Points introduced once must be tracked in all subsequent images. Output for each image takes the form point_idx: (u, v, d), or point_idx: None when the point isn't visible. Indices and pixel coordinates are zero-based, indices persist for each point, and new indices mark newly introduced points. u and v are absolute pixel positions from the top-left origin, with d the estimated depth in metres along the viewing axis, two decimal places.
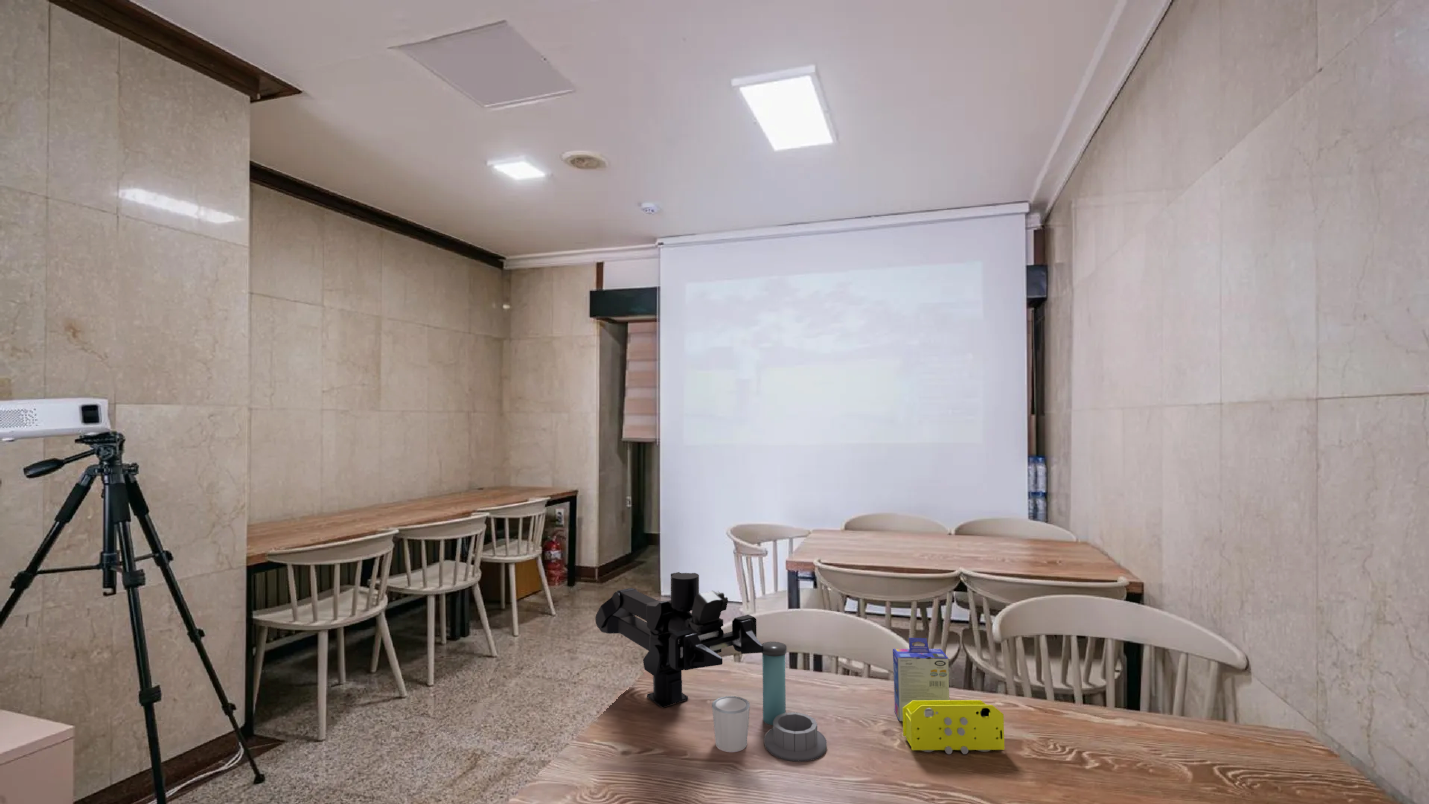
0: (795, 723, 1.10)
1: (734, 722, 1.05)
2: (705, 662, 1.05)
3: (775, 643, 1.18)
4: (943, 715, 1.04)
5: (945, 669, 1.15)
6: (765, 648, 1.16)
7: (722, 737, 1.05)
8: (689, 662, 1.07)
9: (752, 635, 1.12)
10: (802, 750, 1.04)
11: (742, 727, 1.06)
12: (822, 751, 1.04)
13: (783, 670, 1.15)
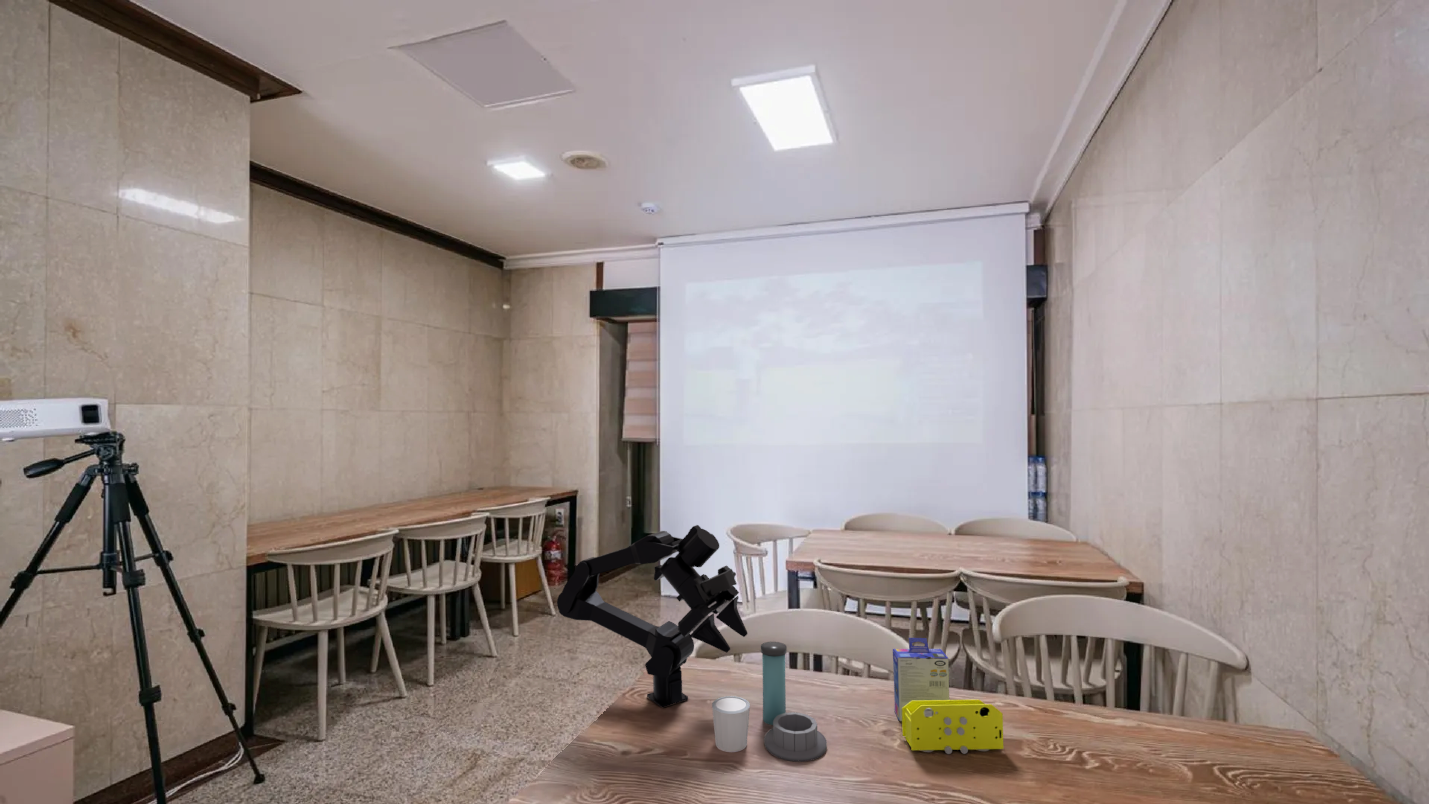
0: (795, 723, 1.10)
1: (734, 722, 1.05)
2: (712, 642, 1.16)
3: (775, 643, 1.18)
4: (943, 715, 1.04)
5: (945, 669, 1.15)
6: (765, 648, 1.16)
7: (722, 737, 1.05)
8: (696, 633, 1.16)
9: (738, 615, 1.25)
10: (802, 750, 1.04)
11: (742, 726, 1.06)
12: (822, 751, 1.04)
13: (783, 670, 1.15)
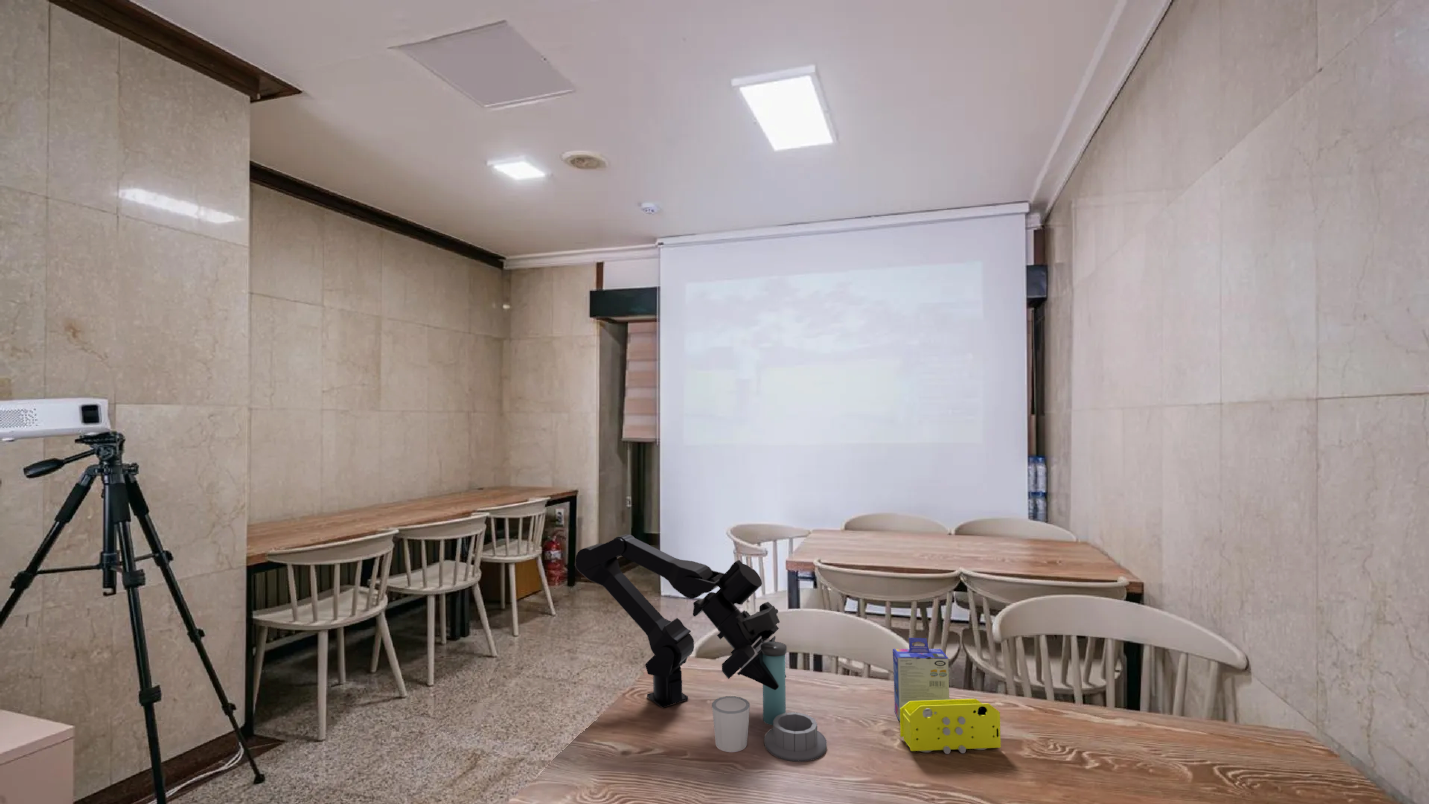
0: (795, 723, 1.10)
1: (734, 722, 1.05)
2: (760, 679, 1.14)
3: (775, 643, 1.18)
4: (941, 715, 1.04)
5: (945, 669, 1.15)
6: (765, 648, 1.16)
7: (722, 737, 1.05)
8: (744, 670, 1.14)
9: None
10: (802, 750, 1.04)
11: (742, 727, 1.06)
12: (822, 751, 1.04)
13: (783, 670, 1.15)
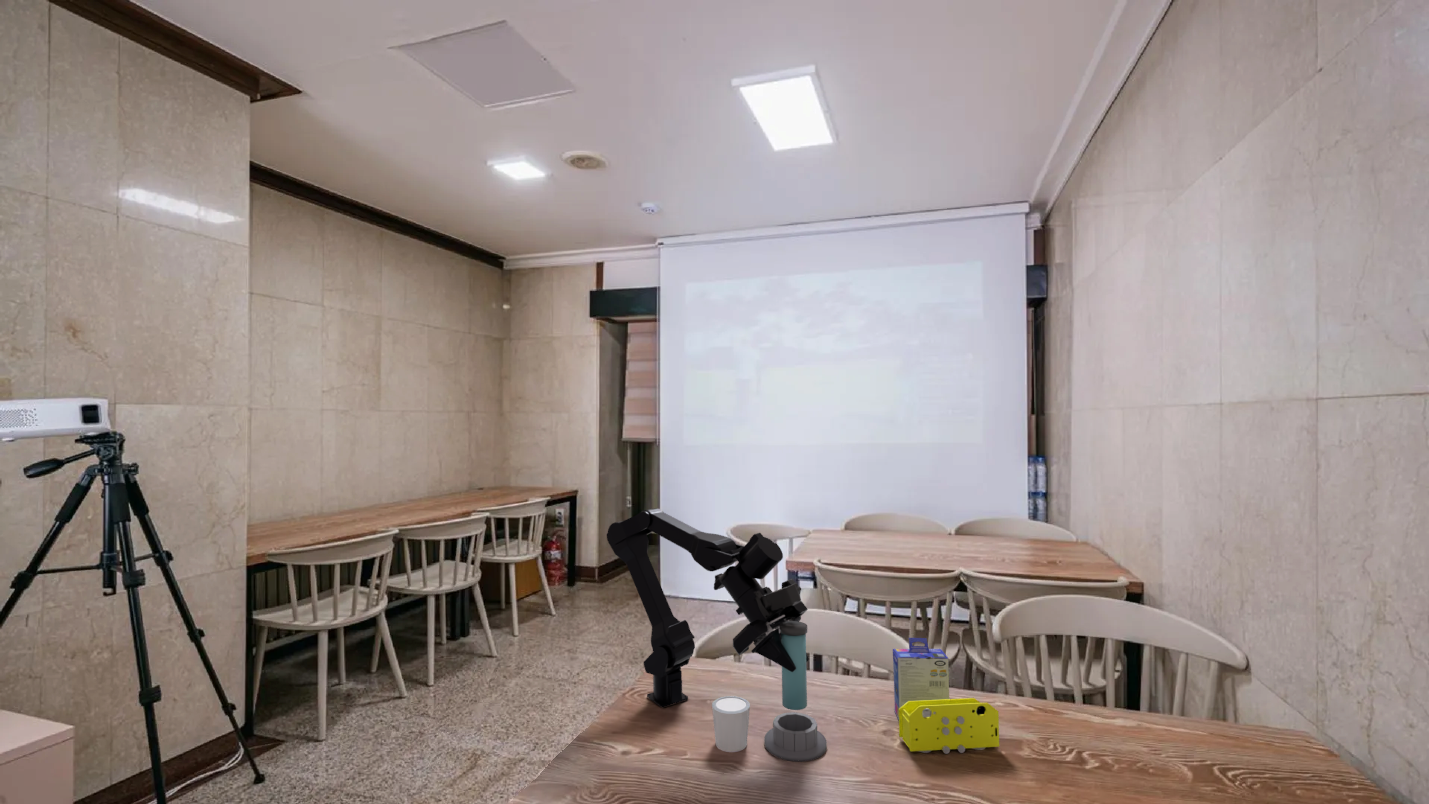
0: (795, 723, 1.10)
1: (734, 722, 1.05)
2: (776, 659, 1.07)
3: (796, 623, 1.10)
4: (941, 715, 1.04)
5: (945, 669, 1.15)
6: (783, 626, 1.08)
7: (722, 737, 1.05)
8: (759, 648, 1.07)
9: None
10: (802, 750, 1.04)
11: (743, 727, 1.06)
12: (822, 751, 1.04)
13: (802, 651, 1.07)
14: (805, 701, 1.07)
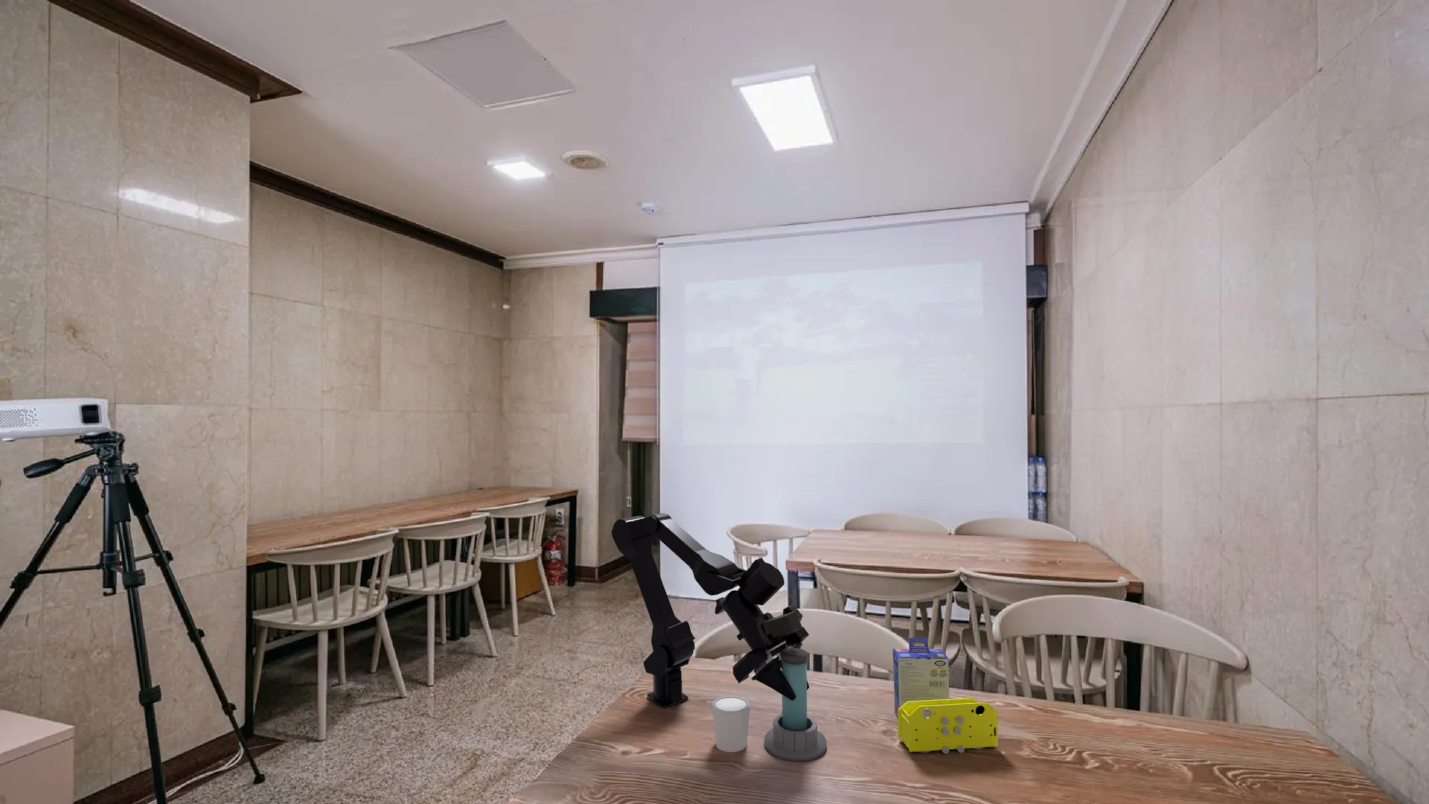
0: None
1: (734, 722, 1.05)
2: (776, 687, 1.06)
3: (797, 650, 1.09)
4: (940, 715, 1.04)
5: (945, 669, 1.15)
6: (783, 654, 1.07)
7: (722, 737, 1.05)
8: (759, 676, 1.07)
9: None
10: (802, 750, 1.04)
11: (743, 726, 1.06)
12: (822, 751, 1.04)
13: (803, 680, 1.06)
14: None
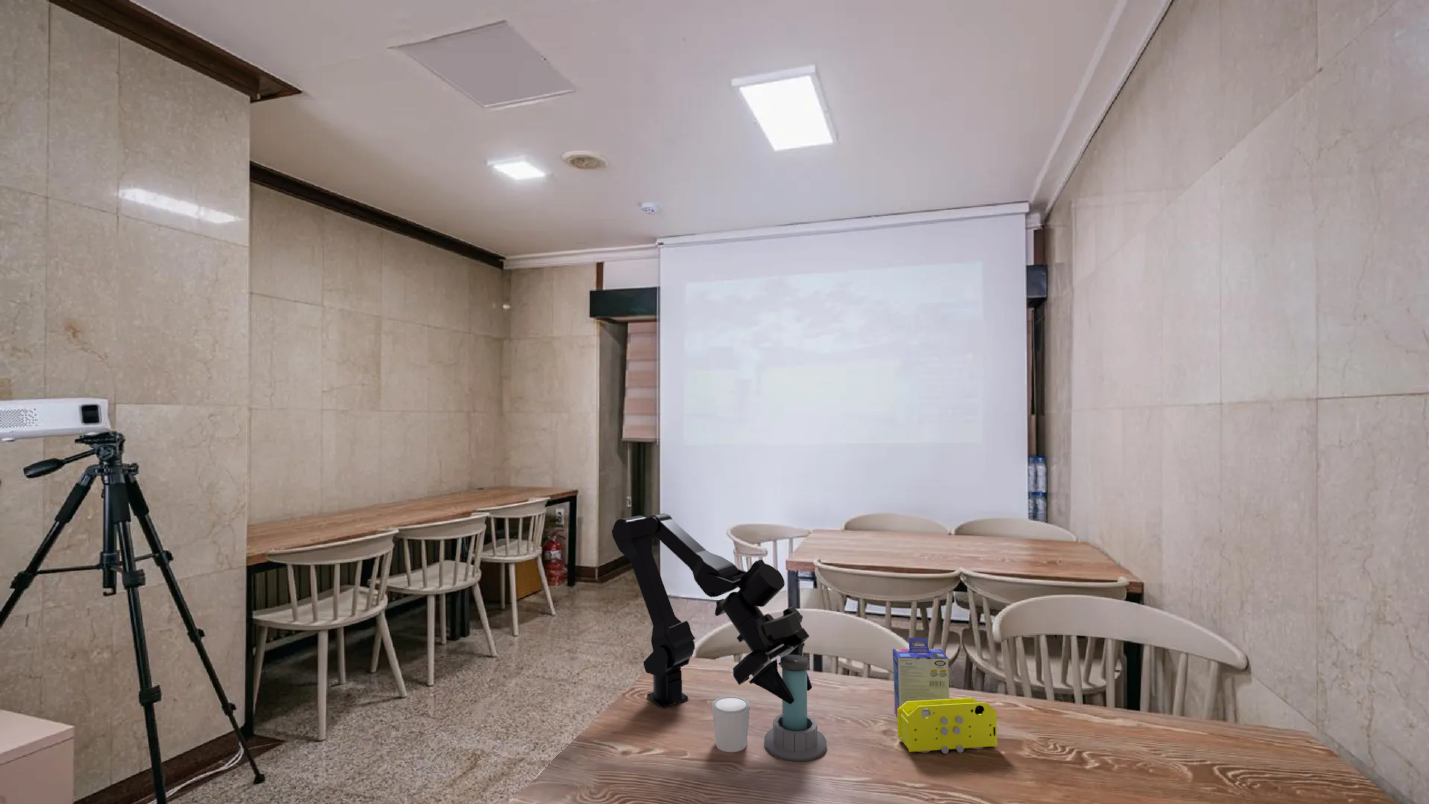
0: None
1: (734, 722, 1.05)
2: (774, 690, 1.05)
3: (798, 657, 1.09)
4: (939, 715, 1.04)
5: (945, 669, 1.15)
6: (784, 661, 1.07)
7: (722, 737, 1.05)
8: (757, 679, 1.06)
9: None
10: (802, 750, 1.04)
11: (742, 726, 1.06)
12: (822, 751, 1.04)
13: (803, 687, 1.06)
14: None
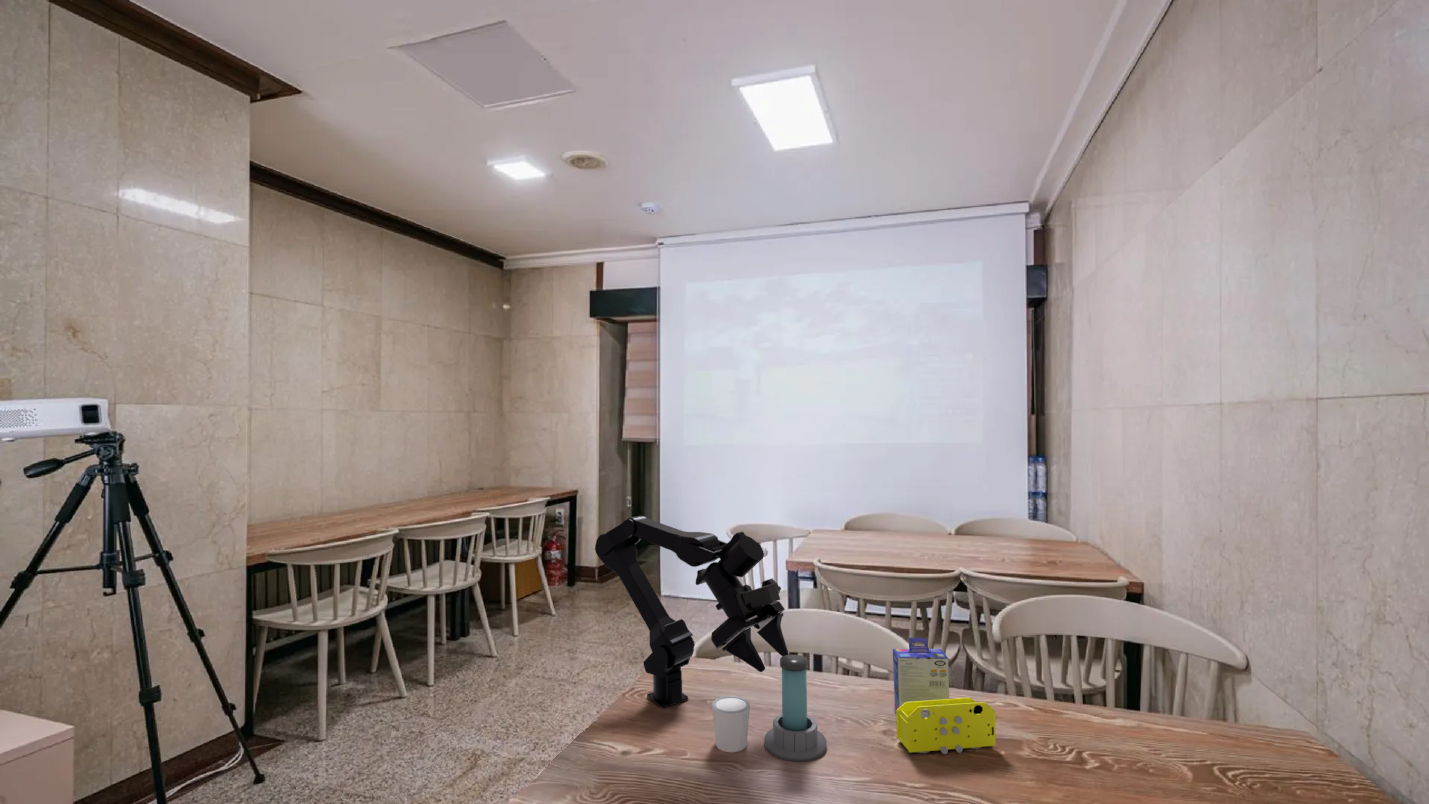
0: None
1: (734, 722, 1.05)
2: (746, 658, 1.07)
3: (797, 657, 1.09)
4: (939, 715, 1.04)
5: (945, 669, 1.15)
6: (783, 661, 1.07)
7: (722, 737, 1.05)
8: (730, 646, 1.08)
9: (781, 634, 1.16)
10: (802, 750, 1.04)
11: (742, 727, 1.06)
12: (822, 751, 1.04)
13: (803, 687, 1.06)
14: None
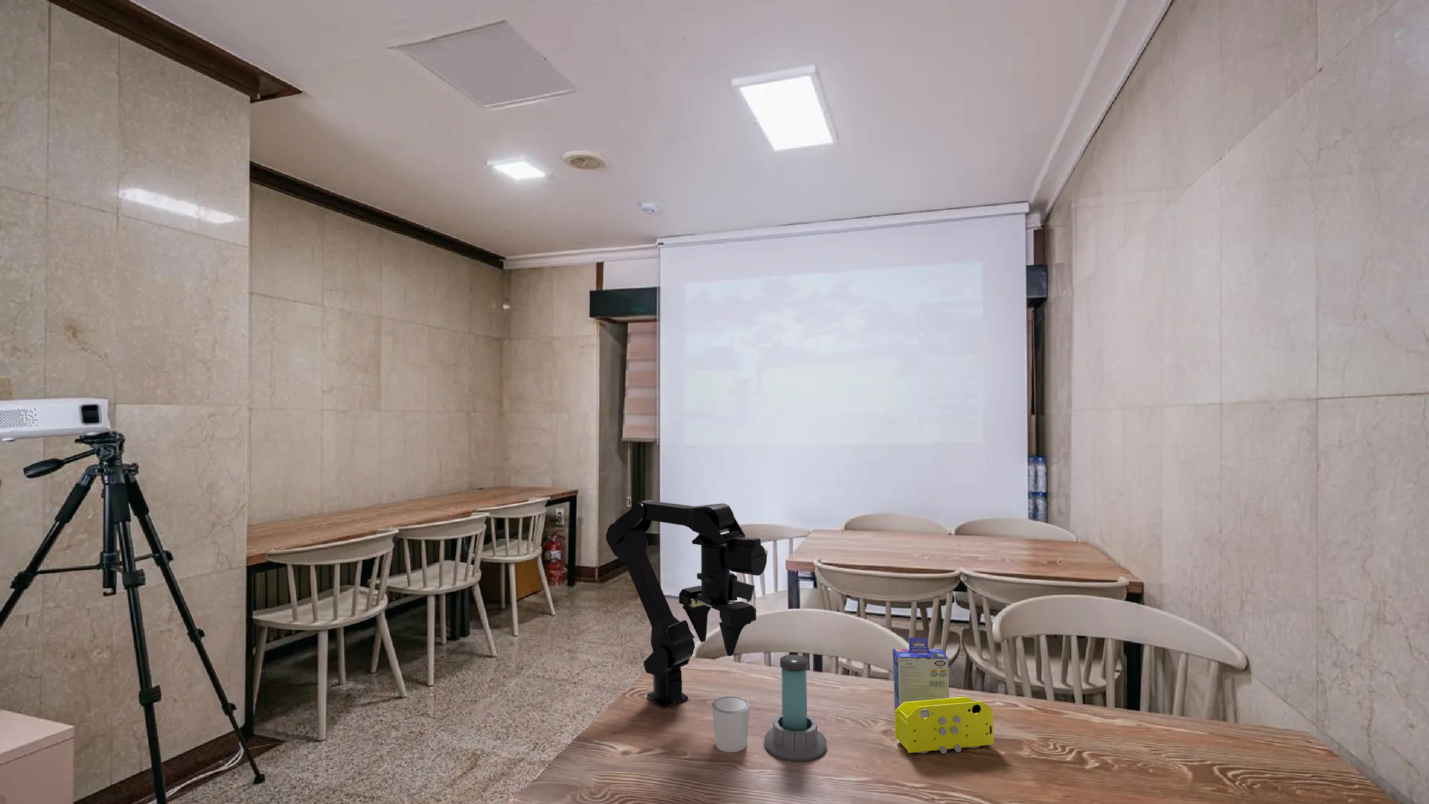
0: None
1: (734, 722, 1.05)
2: (729, 641, 1.14)
3: (797, 657, 1.09)
4: (938, 715, 1.04)
5: (945, 669, 1.15)
6: (783, 661, 1.07)
7: (722, 737, 1.05)
8: None
9: None
10: (802, 750, 1.04)
11: (743, 726, 1.06)
12: (822, 751, 1.04)
13: (803, 687, 1.06)
14: None
